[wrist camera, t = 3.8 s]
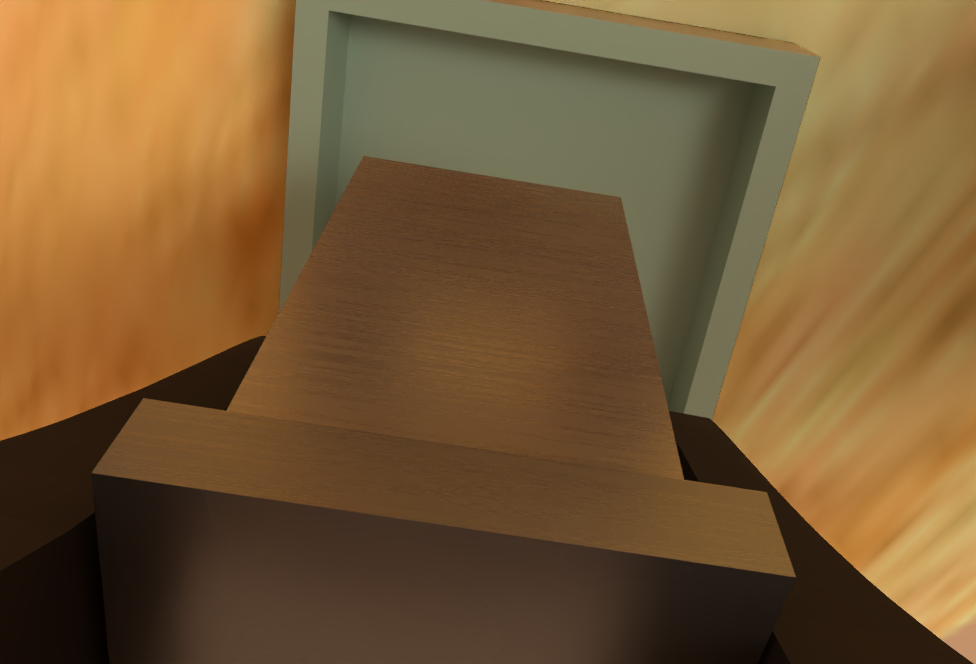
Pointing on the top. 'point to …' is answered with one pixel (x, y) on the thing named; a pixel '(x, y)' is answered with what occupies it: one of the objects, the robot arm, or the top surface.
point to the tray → (564, 137)
